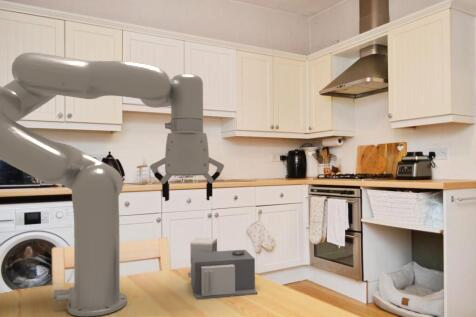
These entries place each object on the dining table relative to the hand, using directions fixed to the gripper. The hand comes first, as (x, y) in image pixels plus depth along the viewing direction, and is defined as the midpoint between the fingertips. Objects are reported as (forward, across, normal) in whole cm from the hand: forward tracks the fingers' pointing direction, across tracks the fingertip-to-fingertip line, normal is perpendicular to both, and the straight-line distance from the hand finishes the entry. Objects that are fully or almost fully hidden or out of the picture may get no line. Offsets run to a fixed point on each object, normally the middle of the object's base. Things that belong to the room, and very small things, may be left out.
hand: (187, 200), depth 88 cm
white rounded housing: (+24, +3, +19) cm, 30 cm away
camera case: (+23, +8, +7) cm, 26 cm away
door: (+23, +7, +1) cm, 24 cm away
